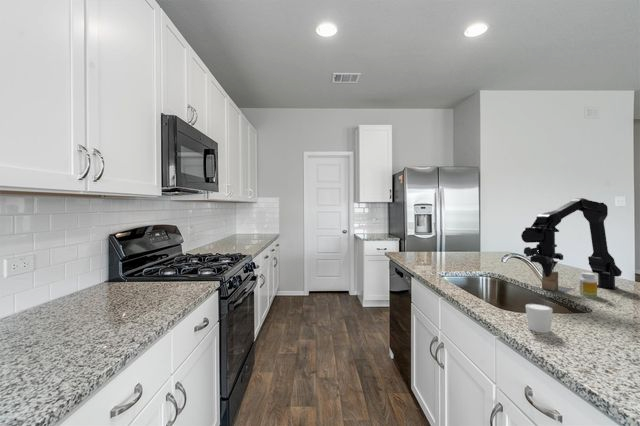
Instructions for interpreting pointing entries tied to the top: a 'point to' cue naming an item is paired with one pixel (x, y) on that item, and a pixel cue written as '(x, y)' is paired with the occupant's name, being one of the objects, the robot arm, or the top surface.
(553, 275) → the walnut block
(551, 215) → the robot arm
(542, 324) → the white cup
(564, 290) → the gray flat panel
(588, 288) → the supplement bottle
